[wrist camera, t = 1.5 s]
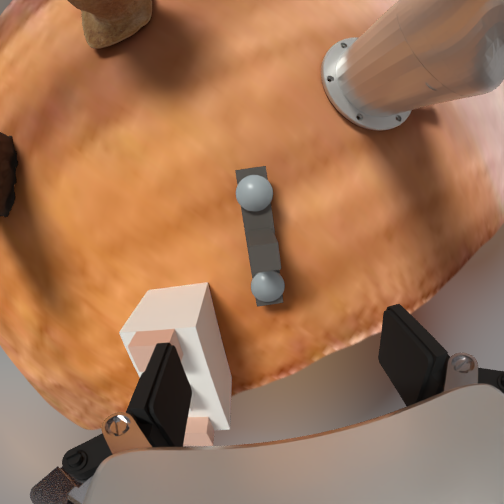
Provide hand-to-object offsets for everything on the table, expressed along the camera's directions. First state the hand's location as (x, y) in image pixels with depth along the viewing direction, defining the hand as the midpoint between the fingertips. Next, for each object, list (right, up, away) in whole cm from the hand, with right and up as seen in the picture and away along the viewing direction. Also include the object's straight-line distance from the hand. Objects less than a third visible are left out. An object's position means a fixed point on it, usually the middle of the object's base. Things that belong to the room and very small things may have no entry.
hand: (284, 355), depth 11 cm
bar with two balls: (-1, +7, +20) cm, 21 cm away
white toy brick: (-10, -7, +24) cm, 27 cm away
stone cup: (-19, +38, +10) cm, 43 cm away
